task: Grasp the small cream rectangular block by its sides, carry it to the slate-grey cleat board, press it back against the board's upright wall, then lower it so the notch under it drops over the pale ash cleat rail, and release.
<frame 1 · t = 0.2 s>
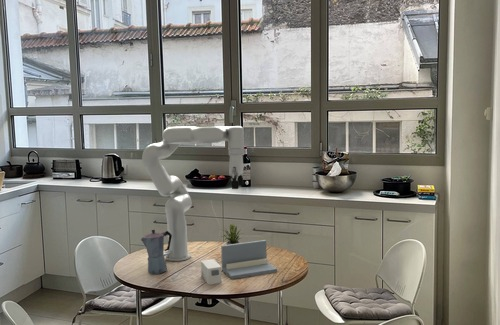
hand: (237, 187, 228), 37 cm above the table, tool pointing down, fingers open, 9 cm apart
moka pot: (158, 271, 221), on the table
cleat board: (248, 270, 219), on the table
cream rectangular block: (211, 279, 209), on the table
house plant: (231, 253, 245), on the table
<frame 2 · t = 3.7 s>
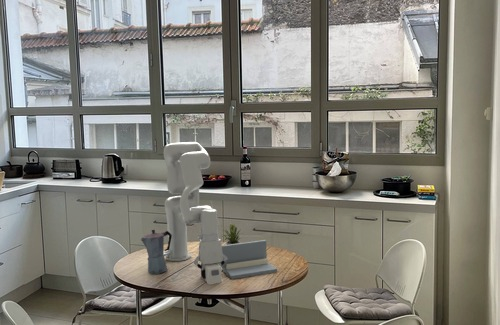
hand: (211, 276, 208), 1 cm above the table, tool pointing down, fingers closed on cream rectangular block, 6 cm apart
cream rectangular block: (211, 278, 209), on the table, touching gripper
everything else where it was.
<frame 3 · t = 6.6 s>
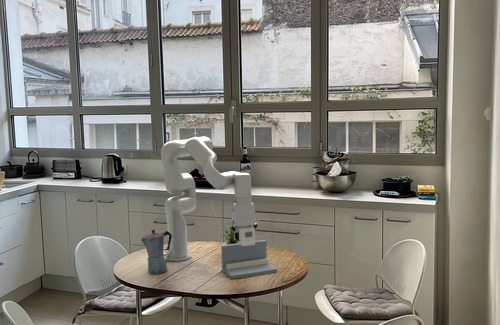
hand: (244, 239, 213), 16 cm above the table, tool pointing down, fingers closed on cream rectangular block, 6 cm apart
cream rectangular block: (244, 241, 213), point 15 cm above the table, touching gripper
everything else where it was.
when the fingers open (3 cm above the table, at t = 9.4 s): cream rectangular block stays where it is, resting on cleat board.
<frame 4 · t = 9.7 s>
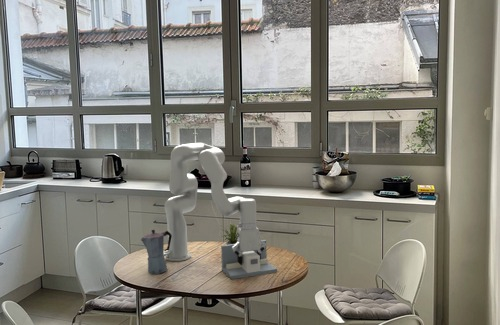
hand: (249, 262, 217), 4 cm above the table, tool pointing down, fingers open, 8 cm apart
cream rectangular block: (249, 267, 217), point 1 cm above the table, touching cleat board
everything else where it was.
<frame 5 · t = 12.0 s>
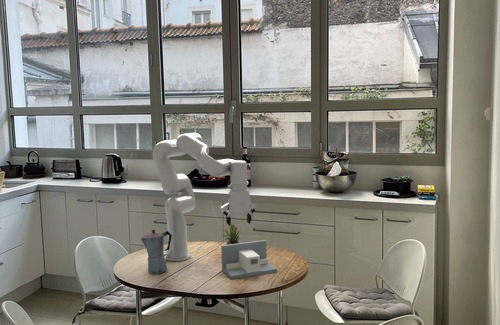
hand: (238, 223, 218), 22 cm above the table, tool pointing down, fingers open, 9 cm apart
nothing on the table moved.
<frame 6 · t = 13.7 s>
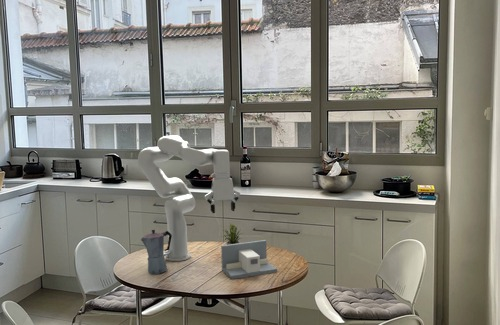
hand: (223, 211, 223), 26 cm above the table, tool pointing down, fingers open, 9 cm apart
nothing on the table moved.
at the end: cream rectangular block inside the target area on the cleat board (0.3 cm from its centre), point 1.5 cm above the cleat board's base; cream rectangular block tilted 0°; the gripper is holding nothing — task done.
